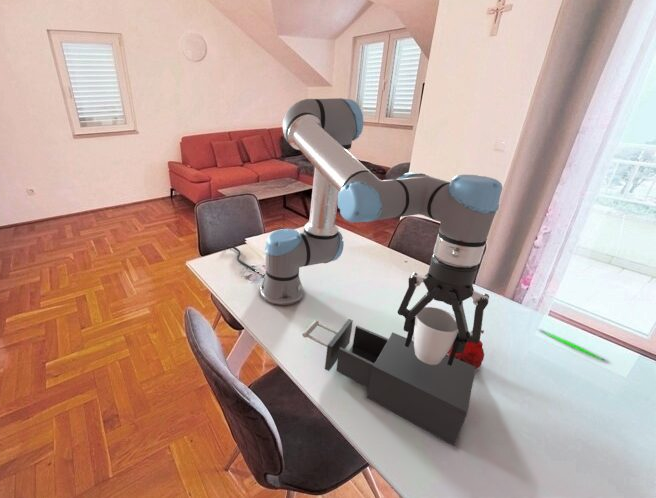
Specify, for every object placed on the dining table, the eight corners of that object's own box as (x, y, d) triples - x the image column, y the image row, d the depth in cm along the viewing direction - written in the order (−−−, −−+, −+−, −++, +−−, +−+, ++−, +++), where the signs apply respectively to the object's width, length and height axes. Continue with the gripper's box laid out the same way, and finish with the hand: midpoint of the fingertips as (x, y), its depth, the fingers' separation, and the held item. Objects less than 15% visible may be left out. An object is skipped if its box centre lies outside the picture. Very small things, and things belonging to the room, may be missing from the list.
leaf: (605, 362, 83) (606, 360, 83) (540, 332, 94) (541, 330, 94) (606, 361, 84) (607, 359, 84) (541, 331, 95) (542, 329, 94)
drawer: (295, 353, 85) (297, 329, 82) (318, 328, 94) (320, 306, 91) (391, 405, 71) (398, 379, 67) (407, 370, 80) (413, 346, 77)
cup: (454, 373, 64) (467, 335, 60) (412, 367, 65) (422, 329, 61) (441, 345, 71) (452, 309, 67) (403, 340, 73) (411, 304, 69)
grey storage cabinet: (366, 397, 74) (373, 366, 70) (386, 361, 84) (392, 332, 80) (454, 446, 63) (467, 412, 59) (464, 398, 73) (476, 366, 69)
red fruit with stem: (482, 364, 83) (500, 319, 77) (474, 379, 78) (492, 332, 72) (451, 348, 88) (465, 304, 82) (441, 361, 84) (455, 316, 78)
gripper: (392, 250, 62) (375, 340, 71) (524, 286, 50) (483, 388, 59) (403, 238, 67) (386, 323, 76) (524, 268, 55) (487, 364, 65)
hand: (428, 351), depth 68 cm, fingers closed on cup, 8 cm apart
